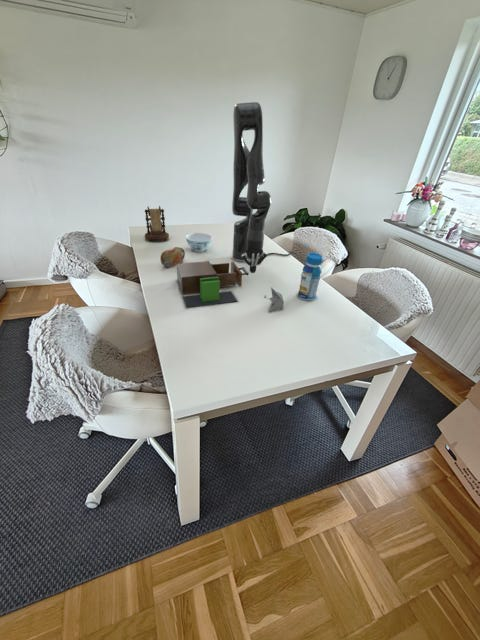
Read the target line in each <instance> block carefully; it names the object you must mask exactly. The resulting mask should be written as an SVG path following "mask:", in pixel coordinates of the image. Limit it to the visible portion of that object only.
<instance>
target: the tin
mask: <svg viewBox="0 0 480 640" xmlns="http://www.w3.org/2000/svg"><path fill="white" fill-rule="evenodd" d="M185 256H186V253H185V250H184V249H183V248H182V247H179V246H176V247H172V248H169V249H166V250H164V251H162V253H161V254H160V256H159V257H160V258H159V259H160V263H161V265H162V266H164V267H166V268H171V267H174V266H177V265H176V264H179V263H183V261H184V259H185Z"/></svg>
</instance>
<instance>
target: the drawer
mask: <svg viewBox="0 0 480 640" xmlns="http://www.w3.org/2000/svg"><path fill="white" fill-rule="evenodd" d="M210 264H211V265H212V267H213V269H214V270H215V272H216V274H217V277H219V281H220V288H224V287H234V286H238V287H242V281H243V276H249V275H250V273H249V272H248V270H247V269H246V268H245V267H244V266H242V267H238V266H237V264H236V262H235V261H230V262H222V263H221V262H220V263H210ZM242 271H243V272H242Z"/></svg>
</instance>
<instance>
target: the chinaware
mask: <svg viewBox="0 0 480 640" xmlns="http://www.w3.org/2000/svg"><path fill="white" fill-rule="evenodd" d="M212 238H213V237H212V235H211V234H209V233H205V232H204V233H203V232H192V233H189V234H187V235H186V236H185V239H186V242H187V245H188V246H189V247H190V248H191V249H193V251H194V252H197V253H202V252H204V251H205V250H206V249H207V248H208V247H209V246H210V245H211V243H212Z"/></svg>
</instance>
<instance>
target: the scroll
mask: <svg viewBox="0 0 480 640" xmlns="http://www.w3.org/2000/svg"><path fill="white" fill-rule="evenodd" d="M164 212H165V209H164V208H161V206H160V205H159V206H158V208H150V207H149V206H147V209H144V213H145V222H146V227H145V228H146V229H147V231H146V233H145V234H144V238H145V239H146V240H149V242H150V243H151V242H152V241H157V242H158V241H164V240H165V242H167V240H168V239H169V237H170V234H169V233H168V232H167V231H166V223H165V221H166V216H165V213H164Z"/></svg>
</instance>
